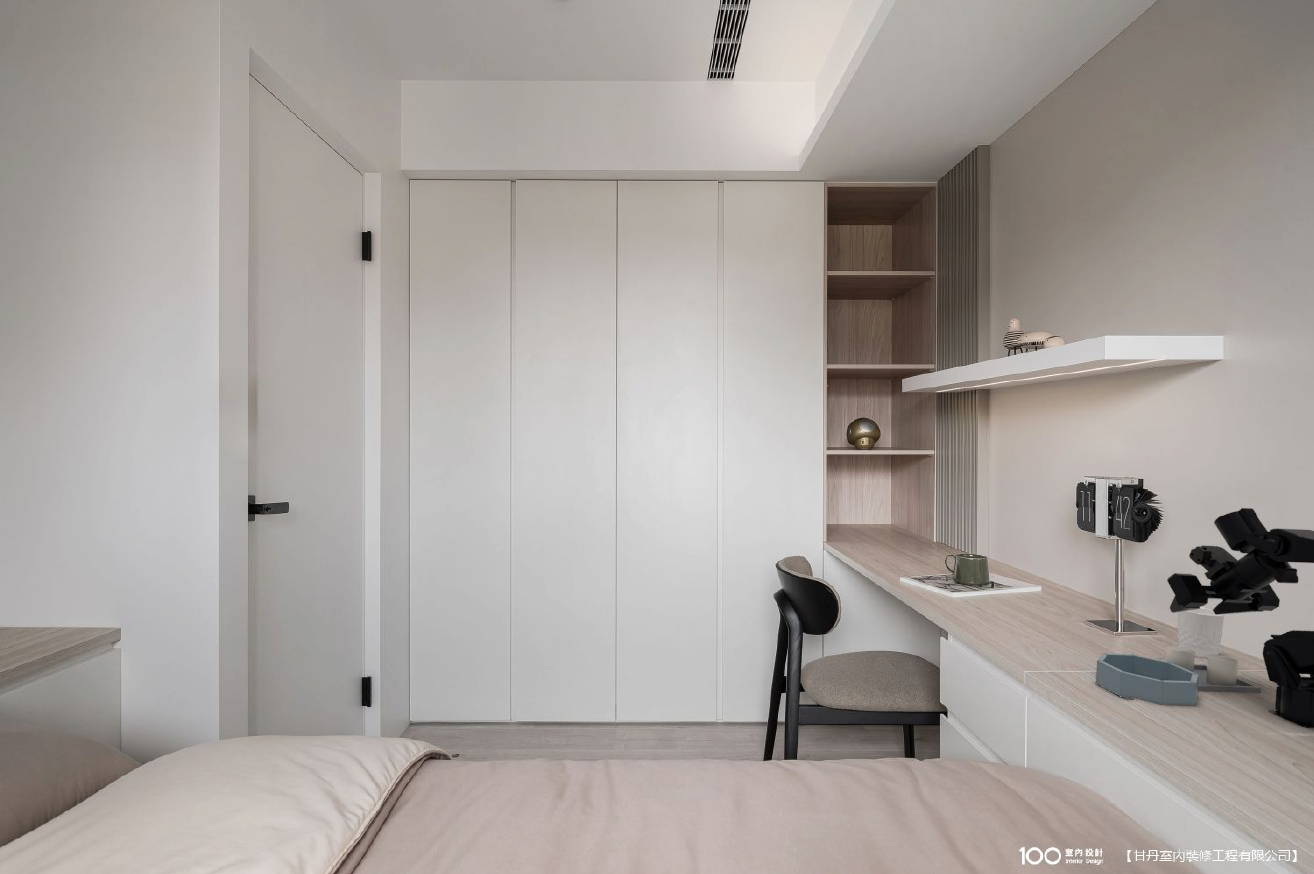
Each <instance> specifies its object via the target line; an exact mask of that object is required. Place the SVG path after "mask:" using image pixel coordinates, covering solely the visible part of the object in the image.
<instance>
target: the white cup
mask: <svg viewBox="0 0 1314 874" xmlns="http://www.w3.org/2000/svg"><path fill="white" fill-rule="evenodd" d="M1224 619H1225V614H1219V615H1216V614H1215V613H1214V611H1213V609H1211V608H1207V607H1203V606H1201V607H1200V609H1194V610H1188V611H1182V612H1177V628H1178V629H1177V635H1178V636H1177V639H1178V646H1180V647H1185V648H1189V649H1192V650H1194V651H1195V657H1200V658H1206V659H1208V655H1219V653H1220V647H1221V642H1222V637H1223V636H1222V635H1223V627H1224V621H1225V620H1224Z"/></svg>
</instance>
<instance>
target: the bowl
mask: <svg viewBox="0 0 1314 874" xmlns="http://www.w3.org/2000/svg"><path fill="white" fill-rule="evenodd" d="M1095 671H1096V674H1095V675H1096V676H1095V684H1096V683H1097V684H1098V685H1097V684H1096V685H1097V686H1099V685H1100V686H1099V687H1101V686H1103V687H1104V688H1106V689H1108V690H1110V691H1111V692H1110V691H1109V692H1110V693H1112V692H1113V693H1116V694H1117V695H1119V696H1121V697H1120V698H1122V697H1124V698H1123V699H1126V698H1127V700H1130V699H1131V700H1130V701H1134V700H1135V699H1139V700H1143V701H1147V702H1150V703H1154V704H1158V705H1164V706H1165V705H1168V706H1171V705H1172V706H1173V705H1174V706H1196V703H1197V702H1196V701H1197V698H1198V695H1199V694H1198V693H1199V691H1198V680H1199V674H1196V673H1194V672H1192V671H1189V670H1187V669H1185V668H1182V667H1180V666H1178V665H1175V664H1173V663H1171V662H1166V660H1161V659H1156V658H1152V657H1146V656H1142V655H1138V654H1133V653H1110V652H1109V653H1104V652H1102V654H1101V655H1100V656H1099V658H1098V659H1097V660H1096V670H1095ZM1103 687H1102V688H1103ZM1104 688H1103V689H1104ZM1106 689H1105V690H1106ZM1108 690H1107V691H1108ZM1113 693H1112V694H1113ZM1117 695H1116V696H1117ZM1119 696H1118V697H1119Z"/></svg>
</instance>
